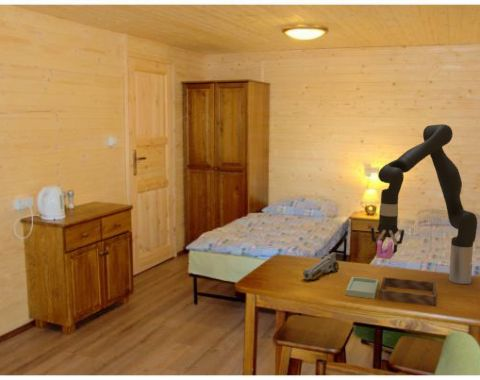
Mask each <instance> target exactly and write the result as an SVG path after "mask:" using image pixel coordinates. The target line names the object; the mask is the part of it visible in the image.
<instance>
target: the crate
mask: <svg viewBox="0 0 480 380" xmlns="http://www.w3.org/2000/svg"><path fill="white" fill-rule="evenodd" d="M436 286H437V285H436V282H435V281H429V280H428V281H427V280H420V279H419V280H417V279H410V278H409V279H408V278H398V277H387V276H383V278H382V282H381V284H380V289H379V300H382V301H389V302H399V303H406V304H407V303H408V304H415V305H424V306H425V305H426V306H432V307H436V306H437V288H436ZM386 287H389V288H399V289H407V290H415V291H423V292H424V291H427V292H432V294H422V293H415V292H406V291H405V292H404V291H395V290H388V289H386Z"/></svg>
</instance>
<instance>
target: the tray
mask: <svg viewBox="0 0 480 380" xmlns="http://www.w3.org/2000/svg"><path fill="white" fill-rule="evenodd" d="M379 282H380V279H378V278H370V277H369V278H368V277H360V276H359V277H357V276H351V278H350V280H349V282H348V285H347V286H346V288H345V296H348V297H356V298H357V297H358V298H364V299H374V300H375V299H376V296H377V292H378V289H379Z"/></svg>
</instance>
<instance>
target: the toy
mask: <svg viewBox="0 0 480 380" xmlns="http://www.w3.org/2000/svg"><path fill="white" fill-rule="evenodd" d="M336 255H337V254H336V252H331V253H330V252H326V253H325V255H324V256H323V258H322V259H321V260H319V261H318V262H316V263H315V264H313V265H312V266H311V267H309V268H305V269H304V270H303V271H302V273H303V275H302V277H304V279H305V280H309V281H314V280H316V278H318V277H319V276H321V274H323V273H327V274H328V273H329V272H335V273H336V272H338V270H340V267H339V266H340V265H339V262H338V261H337V258H336Z"/></svg>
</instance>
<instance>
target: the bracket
mask: <svg viewBox="0 0 480 380" xmlns="http://www.w3.org/2000/svg"><path fill="white" fill-rule="evenodd" d="M386 246H387V247H383V240H380V241H379V240H378V243H377V250H376V258H377V259H383V260H384V259H385V260H391V259H392V258H393V256H395V254H396V252H395V253H393V251H394V248H393V246H394V243H393V242H392V241H388V242H387V245H386Z"/></svg>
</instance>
